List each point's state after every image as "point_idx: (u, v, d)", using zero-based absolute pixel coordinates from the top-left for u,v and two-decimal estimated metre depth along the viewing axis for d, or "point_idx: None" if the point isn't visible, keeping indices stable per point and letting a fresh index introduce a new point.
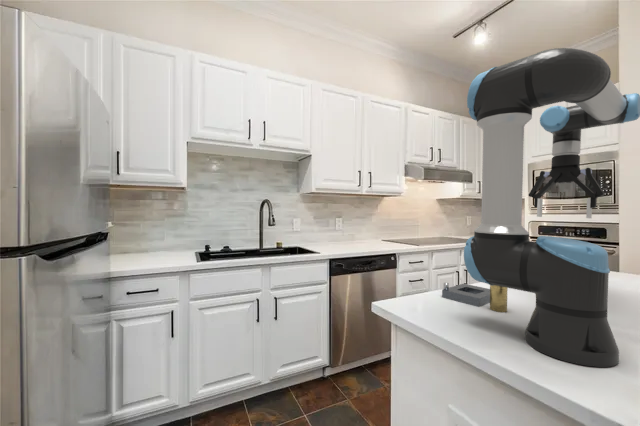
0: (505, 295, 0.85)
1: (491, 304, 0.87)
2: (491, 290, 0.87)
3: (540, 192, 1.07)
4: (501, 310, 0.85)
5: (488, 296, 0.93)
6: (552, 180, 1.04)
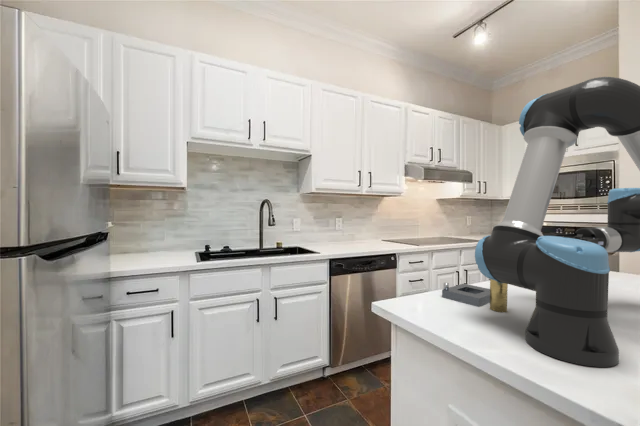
0: (505, 295, 0.85)
1: (491, 304, 0.87)
2: (491, 290, 0.87)
3: None
4: (501, 310, 0.85)
5: (488, 296, 0.93)
6: (560, 234, 0.92)
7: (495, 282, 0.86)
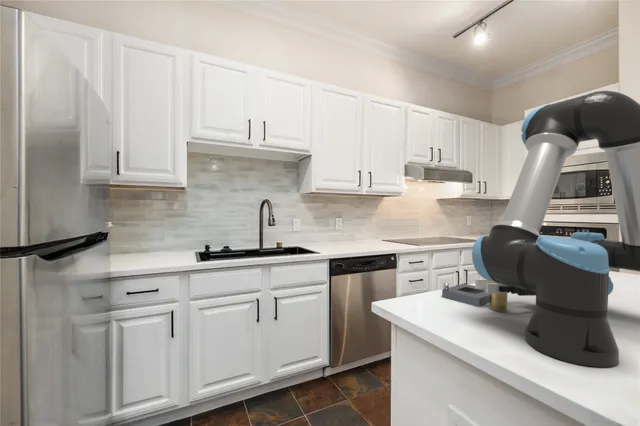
0: (505, 295, 0.85)
1: (491, 304, 0.87)
2: None
3: None
4: (501, 310, 0.85)
5: (488, 296, 0.93)
6: None
7: None
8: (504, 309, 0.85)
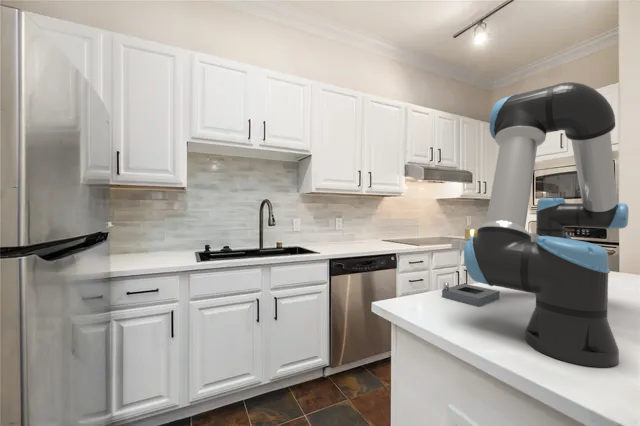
0: None
1: None
2: None
3: None
4: None
5: (488, 296, 0.93)
6: None
7: None
8: None
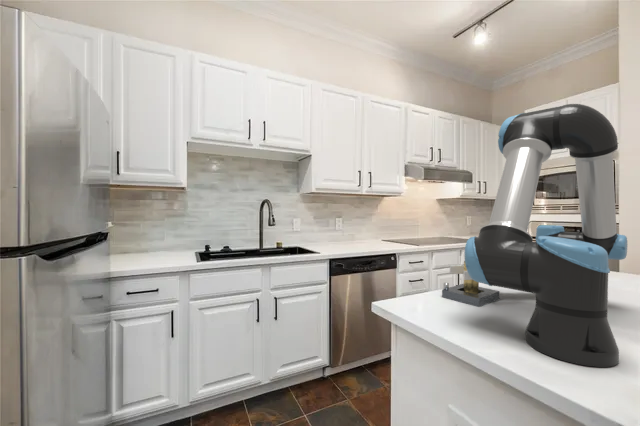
0: (476, 285, 0.97)
1: None
2: (464, 280, 0.99)
3: None
4: None
5: (488, 296, 0.93)
6: None
7: None
8: None
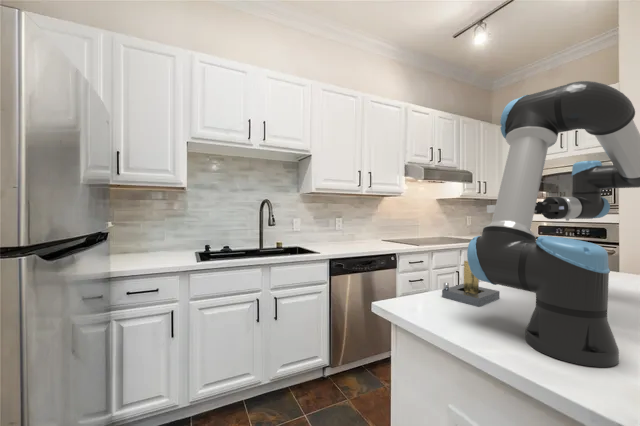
0: (476, 285, 0.97)
1: None
2: (464, 280, 0.99)
3: None
4: None
5: (488, 296, 0.93)
6: None
7: (468, 273, 0.97)
8: None
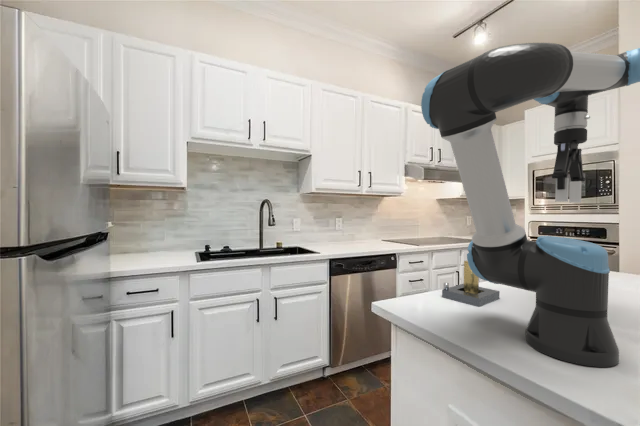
0: (476, 285, 0.97)
1: None
2: (464, 280, 0.99)
3: None
4: None
5: (488, 296, 0.93)
6: None
7: (468, 273, 0.97)
8: None
